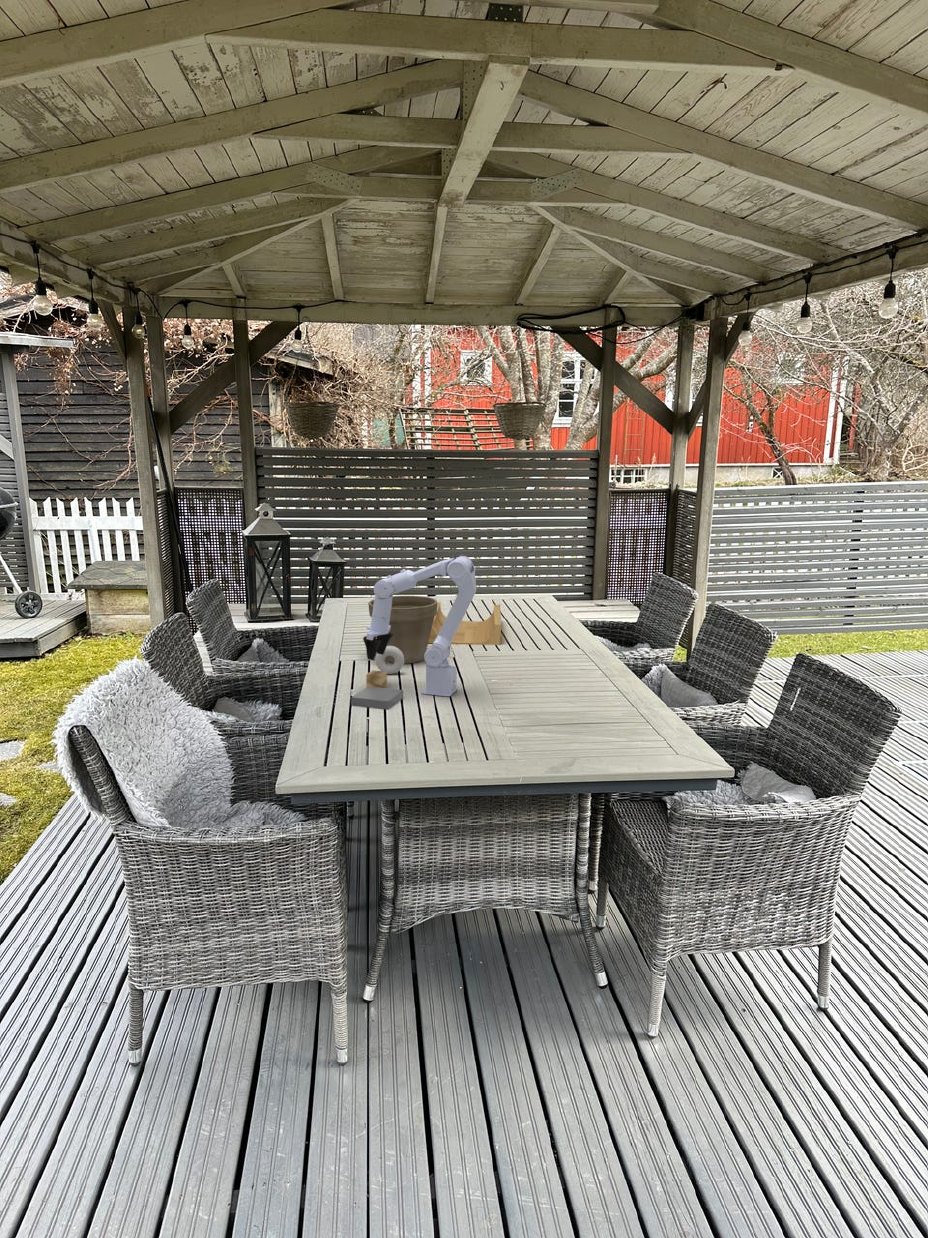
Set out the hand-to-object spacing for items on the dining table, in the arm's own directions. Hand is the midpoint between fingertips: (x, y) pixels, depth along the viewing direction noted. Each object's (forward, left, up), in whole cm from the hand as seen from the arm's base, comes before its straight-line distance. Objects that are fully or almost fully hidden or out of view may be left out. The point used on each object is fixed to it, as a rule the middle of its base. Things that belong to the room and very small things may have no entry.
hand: (375, 656), depth 254 cm
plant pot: (+5, -36, -11) cm, 38 cm away
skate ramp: (-2, -83, -11) cm, 83 cm away
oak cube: (0, 0, -10) cm, 10 cm away
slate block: (-6, +13, -11) cm, 18 cm away
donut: (+2, -16, -11) cm, 19 cm away
